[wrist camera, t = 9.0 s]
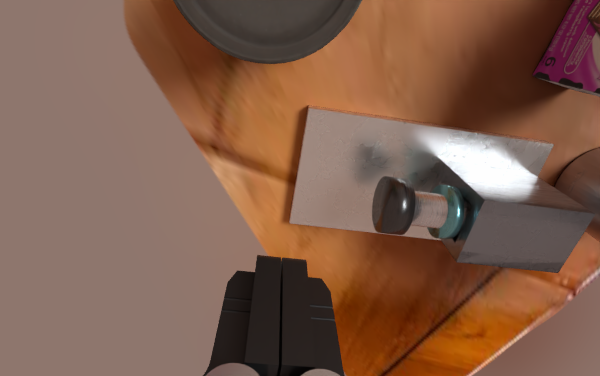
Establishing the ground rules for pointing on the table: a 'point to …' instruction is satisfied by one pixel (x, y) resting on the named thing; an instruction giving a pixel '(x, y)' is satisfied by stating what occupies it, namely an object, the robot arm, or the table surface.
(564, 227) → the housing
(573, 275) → the table surface
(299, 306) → the robot arm
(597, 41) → the candy bar box
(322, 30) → the coffee can
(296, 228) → the table surface
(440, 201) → the shaft
